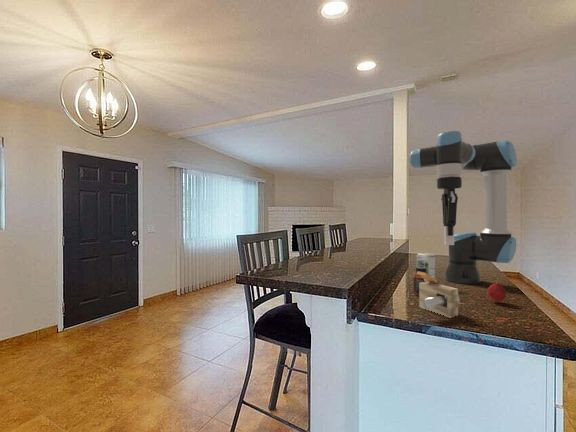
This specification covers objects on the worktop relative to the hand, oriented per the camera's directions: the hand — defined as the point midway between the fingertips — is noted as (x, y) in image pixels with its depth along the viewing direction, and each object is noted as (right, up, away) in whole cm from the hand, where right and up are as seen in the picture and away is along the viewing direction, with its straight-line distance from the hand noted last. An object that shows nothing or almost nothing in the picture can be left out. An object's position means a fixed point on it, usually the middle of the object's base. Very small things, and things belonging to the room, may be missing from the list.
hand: (449, 244), depth 106 cm
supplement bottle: (-1, -23, +20) cm, 30 cm away
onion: (+22, -23, +7) cm, 32 cm away
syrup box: (+8, -22, +35) cm, 42 cm away
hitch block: (-4, -23, -1) cm, 23 cm away
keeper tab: (-7, -12, +1) cm, 14 cm away
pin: (-6, -21, -5) cm, 22 cm away
